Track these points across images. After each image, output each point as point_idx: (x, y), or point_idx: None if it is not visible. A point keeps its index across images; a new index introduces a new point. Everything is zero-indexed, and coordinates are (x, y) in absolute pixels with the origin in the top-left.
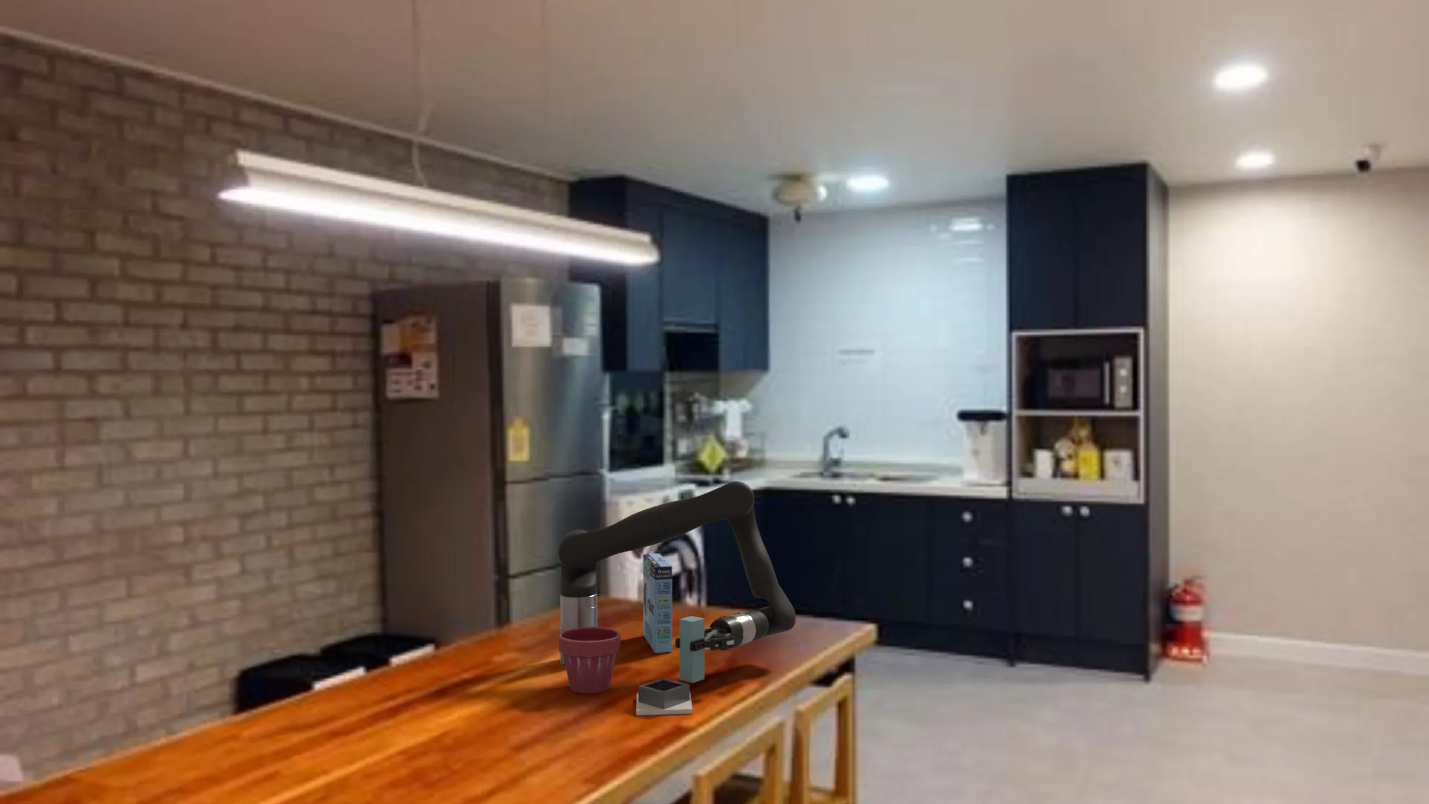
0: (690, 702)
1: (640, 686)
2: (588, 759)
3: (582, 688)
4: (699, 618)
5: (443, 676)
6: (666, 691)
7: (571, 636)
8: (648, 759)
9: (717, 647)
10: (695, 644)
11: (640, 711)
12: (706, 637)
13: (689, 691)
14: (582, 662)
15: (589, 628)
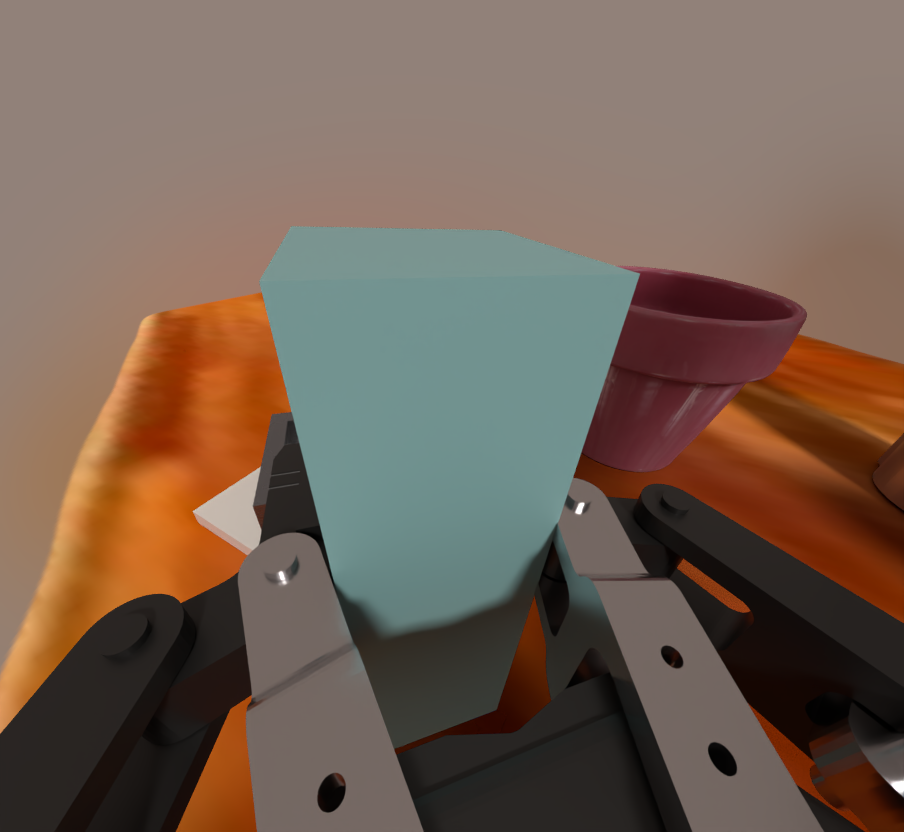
0: (247, 541)
1: None
2: (241, 333)
3: None
4: (367, 266)
5: None
6: (278, 424)
7: (734, 309)
8: (136, 361)
9: (117, 779)
10: (285, 448)
11: None
12: (308, 604)
13: (261, 528)
14: None
15: (789, 308)
